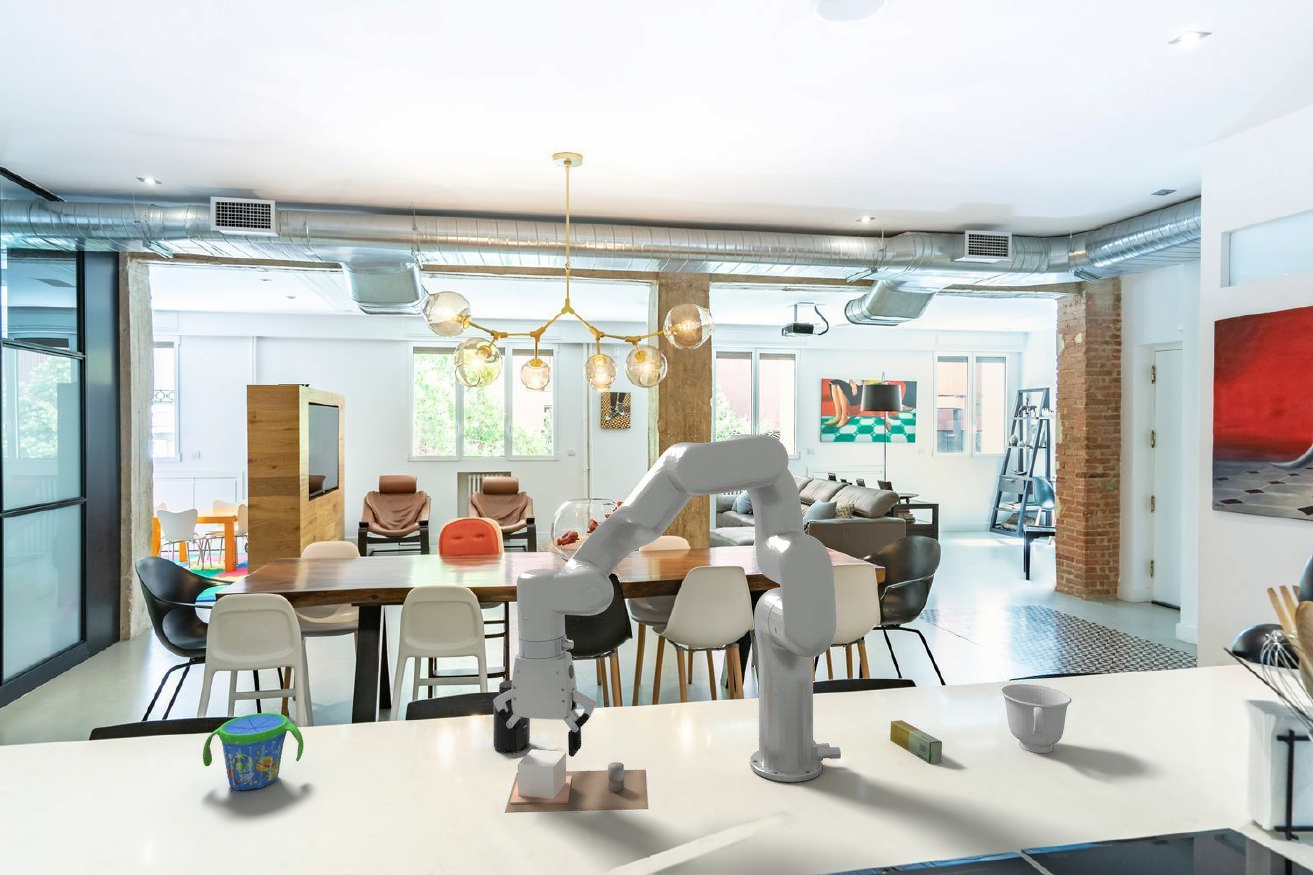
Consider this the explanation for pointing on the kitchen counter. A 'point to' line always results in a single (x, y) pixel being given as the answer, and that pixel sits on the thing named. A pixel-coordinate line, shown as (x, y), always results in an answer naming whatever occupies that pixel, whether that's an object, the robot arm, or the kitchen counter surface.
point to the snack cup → (253, 748)
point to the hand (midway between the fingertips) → (545, 751)
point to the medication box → (916, 742)
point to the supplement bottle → (501, 730)
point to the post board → (589, 792)
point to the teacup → (1036, 715)
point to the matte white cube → (542, 773)
